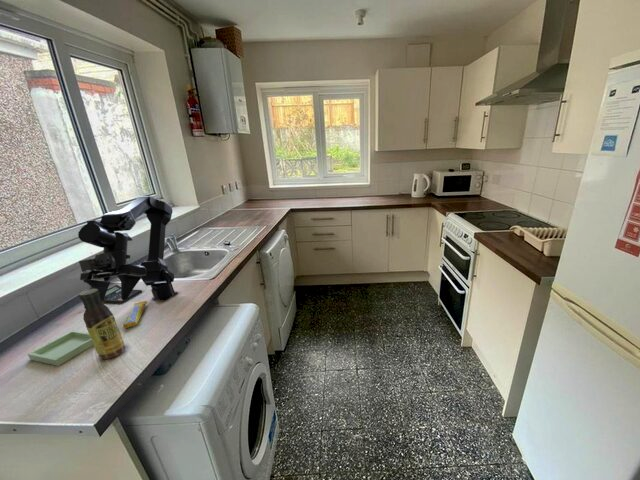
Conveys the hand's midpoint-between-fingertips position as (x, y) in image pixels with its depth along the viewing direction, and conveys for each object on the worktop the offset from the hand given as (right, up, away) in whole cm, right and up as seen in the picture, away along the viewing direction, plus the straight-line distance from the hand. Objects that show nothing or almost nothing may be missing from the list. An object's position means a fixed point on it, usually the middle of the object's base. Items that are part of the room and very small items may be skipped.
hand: (111, 301), depth 86 cm
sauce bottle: (+3, -15, -3) cm, 15 cm away
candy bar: (-4, -7, +15) cm, 17 cm away
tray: (-13, -14, -1) cm, 19 cm away
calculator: (-21, -2, +30) cm, 36 cm away
